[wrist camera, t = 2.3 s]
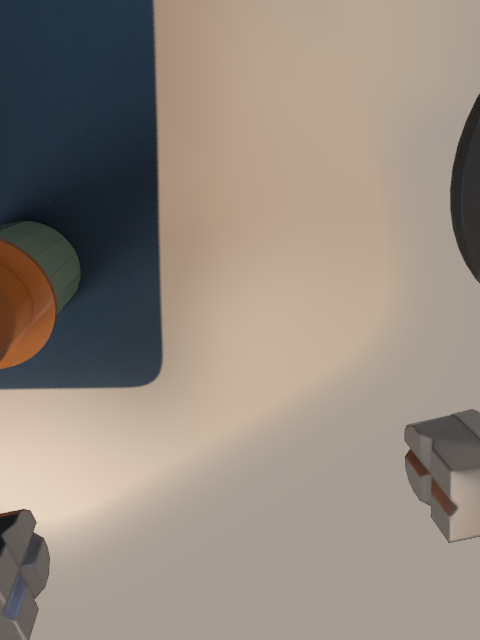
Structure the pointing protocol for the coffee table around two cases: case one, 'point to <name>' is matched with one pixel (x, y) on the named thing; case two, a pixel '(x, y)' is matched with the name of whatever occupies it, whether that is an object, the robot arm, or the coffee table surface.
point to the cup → (47, 255)
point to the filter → (23, 305)
